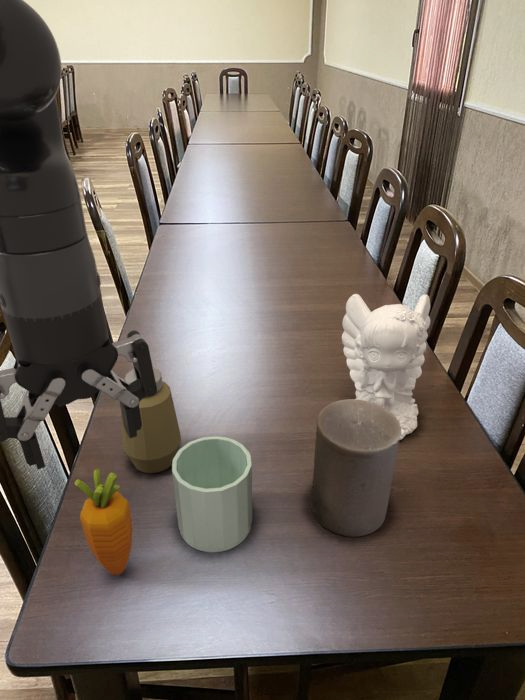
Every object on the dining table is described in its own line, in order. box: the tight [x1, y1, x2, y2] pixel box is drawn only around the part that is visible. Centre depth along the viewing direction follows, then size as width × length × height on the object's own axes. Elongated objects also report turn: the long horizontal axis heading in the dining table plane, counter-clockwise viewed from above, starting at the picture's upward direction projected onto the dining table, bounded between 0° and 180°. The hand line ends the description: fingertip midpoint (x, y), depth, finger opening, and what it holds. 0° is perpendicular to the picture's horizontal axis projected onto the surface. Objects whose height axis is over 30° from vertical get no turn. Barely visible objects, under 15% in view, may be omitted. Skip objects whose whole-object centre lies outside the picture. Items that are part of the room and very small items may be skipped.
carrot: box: [74, 468, 133, 576], centre depth 56 cm, size 5×5×15 cm
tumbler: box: [171, 435, 253, 553], centre depth 64 cm, size 9×9×10 cm
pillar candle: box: [310, 398, 401, 538], centre depth 65 cm, size 10×10×15 cm
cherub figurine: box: [341, 293, 431, 441], centre depth 80 cm, size 13×12×20 cm
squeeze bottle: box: [120, 366, 182, 474], centre depth 71 cm, size 8×8×18 cm
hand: (86, 447), depth 51 cm, fingers open, 8 cm apart
